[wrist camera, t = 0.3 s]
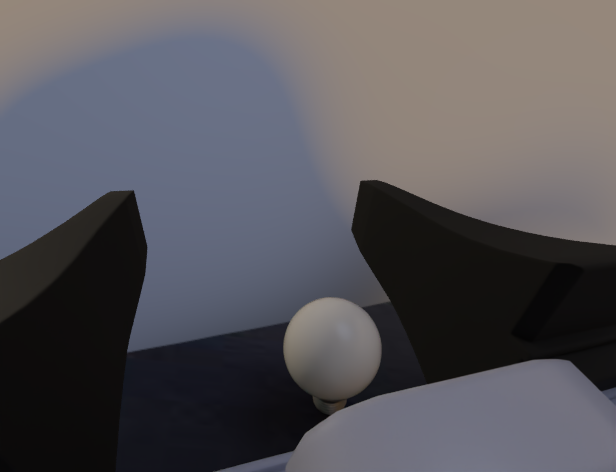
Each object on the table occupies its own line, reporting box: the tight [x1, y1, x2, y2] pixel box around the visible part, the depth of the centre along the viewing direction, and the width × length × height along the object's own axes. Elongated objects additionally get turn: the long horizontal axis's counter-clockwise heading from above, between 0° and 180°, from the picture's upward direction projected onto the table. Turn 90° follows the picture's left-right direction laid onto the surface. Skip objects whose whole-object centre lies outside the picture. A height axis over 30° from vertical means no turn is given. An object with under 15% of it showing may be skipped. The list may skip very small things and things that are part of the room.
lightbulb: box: [283, 297, 382, 415], centre depth 23 cm, size 6×6×11 cm
